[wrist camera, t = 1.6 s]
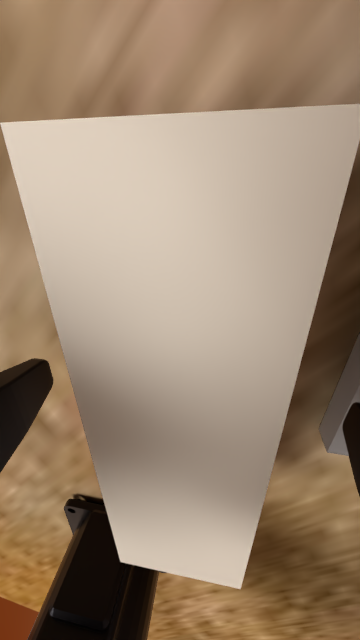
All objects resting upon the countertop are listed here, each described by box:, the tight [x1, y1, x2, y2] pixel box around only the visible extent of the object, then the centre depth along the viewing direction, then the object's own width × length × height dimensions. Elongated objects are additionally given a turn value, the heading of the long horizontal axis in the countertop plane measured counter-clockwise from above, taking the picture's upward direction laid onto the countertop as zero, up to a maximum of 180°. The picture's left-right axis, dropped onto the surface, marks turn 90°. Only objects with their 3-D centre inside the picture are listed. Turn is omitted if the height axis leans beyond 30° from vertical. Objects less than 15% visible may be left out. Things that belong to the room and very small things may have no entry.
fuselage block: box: [0, 104, 360, 589], centre depth 8 cm, size 12×4×4 cm, turn 1°
